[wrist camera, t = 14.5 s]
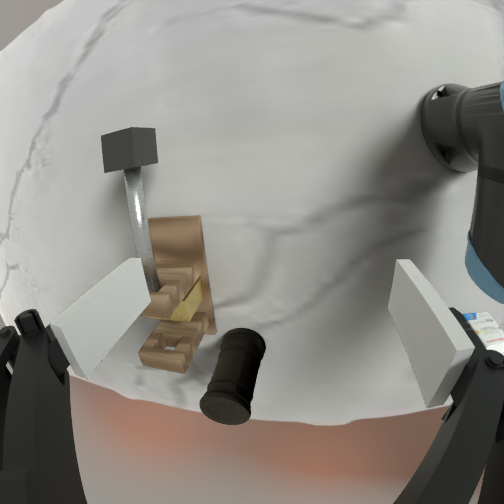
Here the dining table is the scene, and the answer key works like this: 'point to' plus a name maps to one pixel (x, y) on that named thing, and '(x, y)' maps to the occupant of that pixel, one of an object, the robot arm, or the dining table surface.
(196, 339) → the bearing rig
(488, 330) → the ink box
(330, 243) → the dining table surface
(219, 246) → the dining table surface
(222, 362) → the container
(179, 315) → the spacer
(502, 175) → the robot arm
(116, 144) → the shaft
